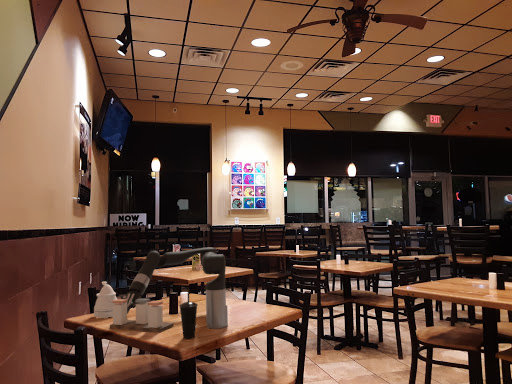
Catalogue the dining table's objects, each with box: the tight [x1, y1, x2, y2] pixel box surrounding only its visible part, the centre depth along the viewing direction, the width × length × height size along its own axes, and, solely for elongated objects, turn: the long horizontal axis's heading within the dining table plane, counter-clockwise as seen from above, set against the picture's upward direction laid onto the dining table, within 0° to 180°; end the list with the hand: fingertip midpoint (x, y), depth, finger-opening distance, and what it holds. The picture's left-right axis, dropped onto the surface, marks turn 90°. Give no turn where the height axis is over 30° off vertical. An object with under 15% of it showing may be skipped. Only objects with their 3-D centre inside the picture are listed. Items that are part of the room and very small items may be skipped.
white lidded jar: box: [135, 297, 151, 324], centre depth 195 cm, size 5×4×11 cm
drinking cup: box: [179, 289, 198, 340], centre depth 175 cm, size 8×8×20 cm
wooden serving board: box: [109, 319, 174, 333], centre depth 194 cm, size 28×11×2 cm, turn 68°
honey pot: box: [93, 281, 118, 319], centre depth 222 cm, size 13×13×18 cm
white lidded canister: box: [147, 300, 164, 328], centre depth 188 cm, size 5×4×11 cm
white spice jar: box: [112, 298, 128, 325], centre depth 195 cm, size 5×4×11 cm
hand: (123, 314), depth 197 cm, fingers closed
